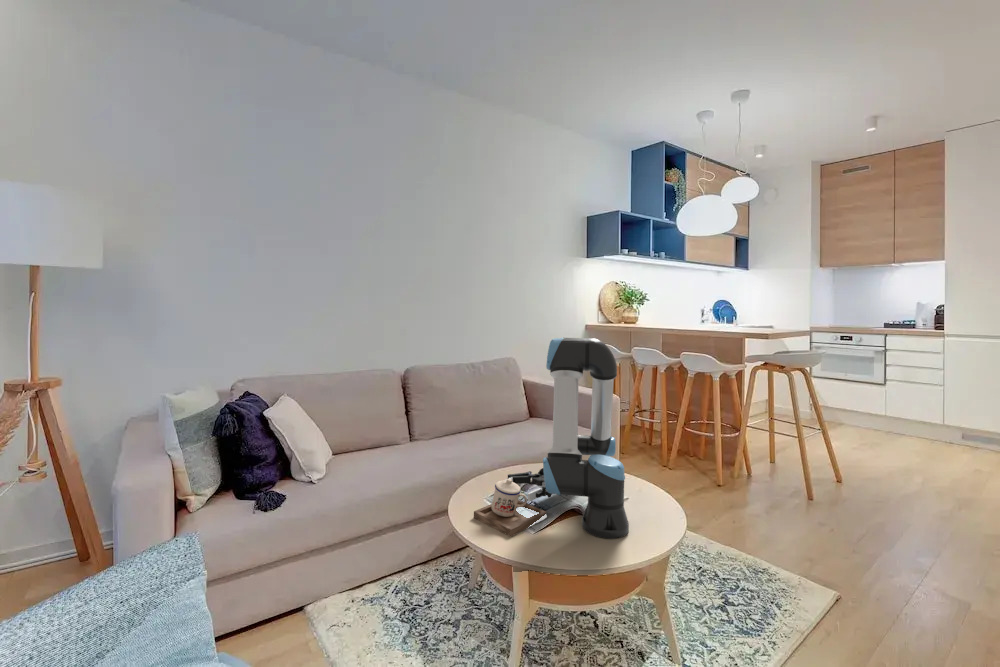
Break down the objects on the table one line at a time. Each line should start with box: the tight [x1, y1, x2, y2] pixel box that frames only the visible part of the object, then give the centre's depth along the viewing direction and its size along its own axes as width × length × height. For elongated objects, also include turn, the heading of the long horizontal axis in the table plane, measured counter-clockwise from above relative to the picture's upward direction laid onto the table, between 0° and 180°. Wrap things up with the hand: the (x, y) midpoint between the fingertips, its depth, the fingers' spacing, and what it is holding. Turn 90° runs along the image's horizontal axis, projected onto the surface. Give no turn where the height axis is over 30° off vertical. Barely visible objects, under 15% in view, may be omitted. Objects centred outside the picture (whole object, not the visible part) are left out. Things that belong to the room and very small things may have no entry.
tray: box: [473, 499, 548, 537], centre depth 162 cm, size 18×18×2 cm
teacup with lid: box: [491, 478, 528, 517], centre depth 164 cm, size 12×9×12 cm
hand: (513, 491), depth 163 cm, fingers open, 13 cm apart
